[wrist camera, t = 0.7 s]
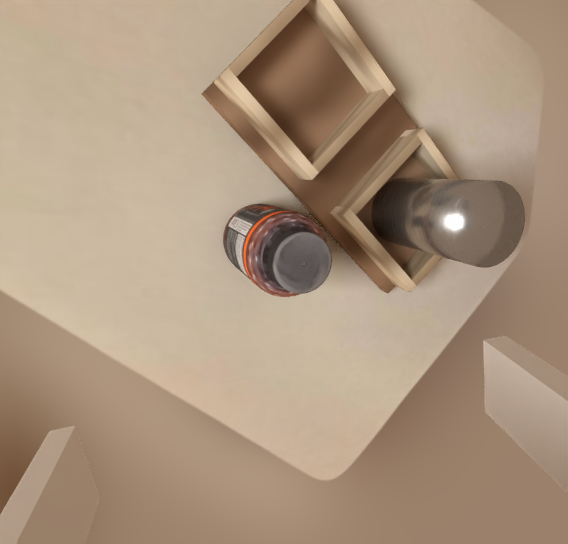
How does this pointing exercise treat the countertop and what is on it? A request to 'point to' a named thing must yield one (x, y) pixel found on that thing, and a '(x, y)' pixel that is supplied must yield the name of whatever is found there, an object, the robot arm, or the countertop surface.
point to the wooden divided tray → (330, 130)
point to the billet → (451, 218)
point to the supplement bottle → (277, 249)
